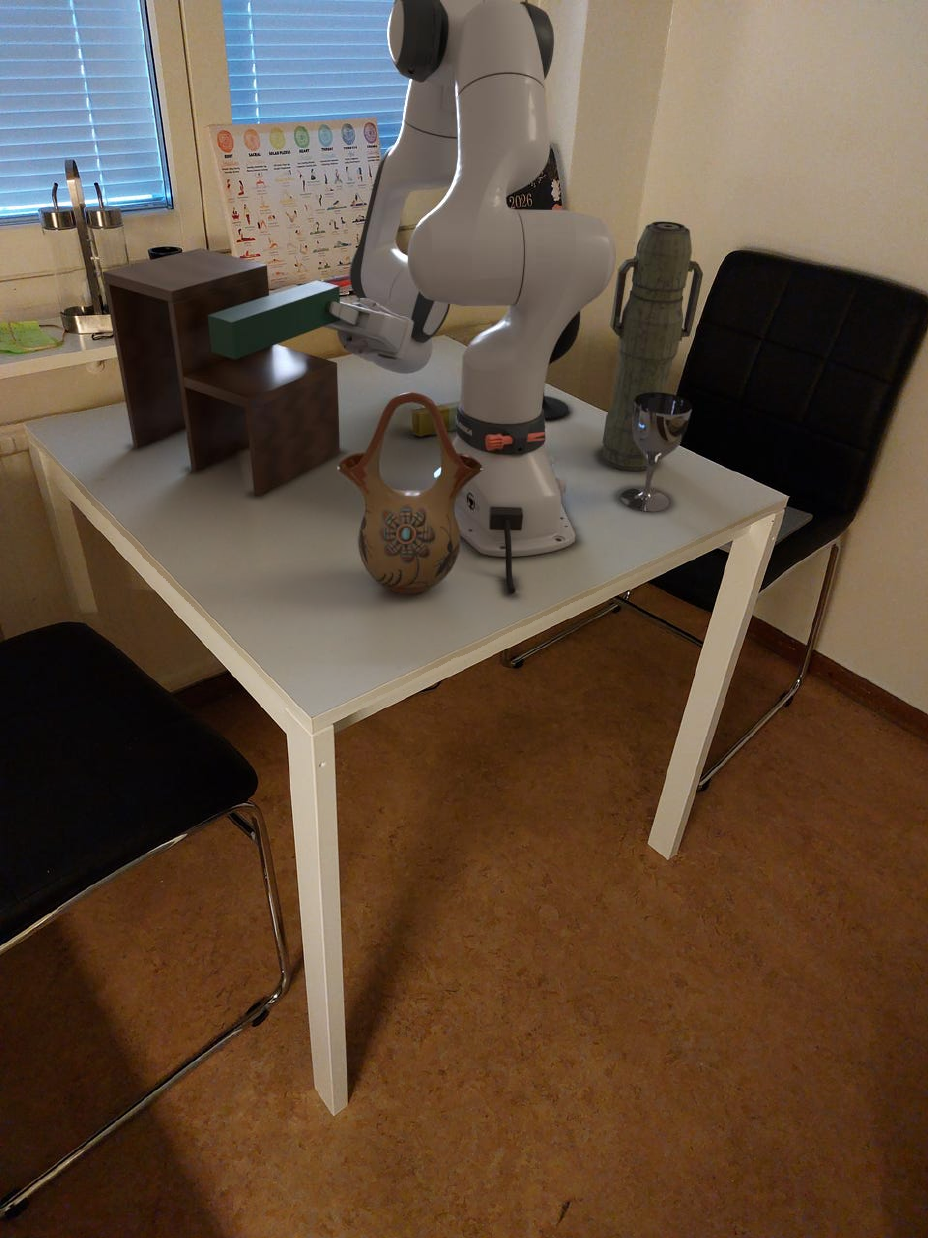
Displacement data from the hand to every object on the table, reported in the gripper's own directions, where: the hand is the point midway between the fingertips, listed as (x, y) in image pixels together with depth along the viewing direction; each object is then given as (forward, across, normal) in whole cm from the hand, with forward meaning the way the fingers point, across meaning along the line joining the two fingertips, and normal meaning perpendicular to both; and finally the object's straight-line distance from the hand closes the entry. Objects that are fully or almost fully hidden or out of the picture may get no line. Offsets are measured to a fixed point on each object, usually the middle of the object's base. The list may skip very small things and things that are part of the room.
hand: (314, 302), depth 131 cm
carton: (+5, 0, +6) cm, 8 cm away
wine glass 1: (-39, +22, +2) cm, 45 cm away
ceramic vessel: (+12, +37, +32) cm, 50 cm away
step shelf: (0, -7, +24) cm, 25 cm away
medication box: (-24, +14, +11) cm, 30 cm away
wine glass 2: (-22, +51, +12) cm, 57 cm away
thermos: (-32, +43, +6) cm, 54 cm away
